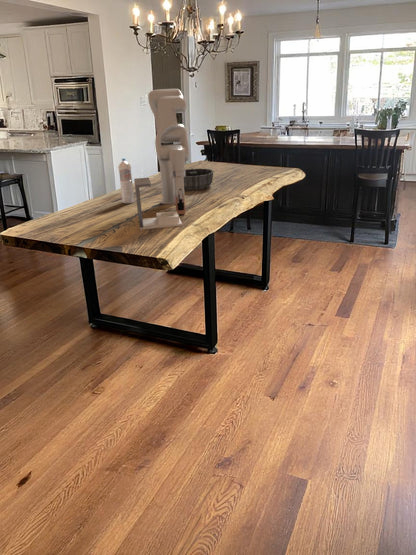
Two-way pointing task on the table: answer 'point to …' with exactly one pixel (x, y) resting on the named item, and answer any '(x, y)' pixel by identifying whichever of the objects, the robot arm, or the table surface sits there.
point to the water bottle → (126, 182)
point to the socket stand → (162, 220)
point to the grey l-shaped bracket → (139, 183)
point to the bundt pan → (197, 179)
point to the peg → (177, 206)
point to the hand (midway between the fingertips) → (180, 208)
